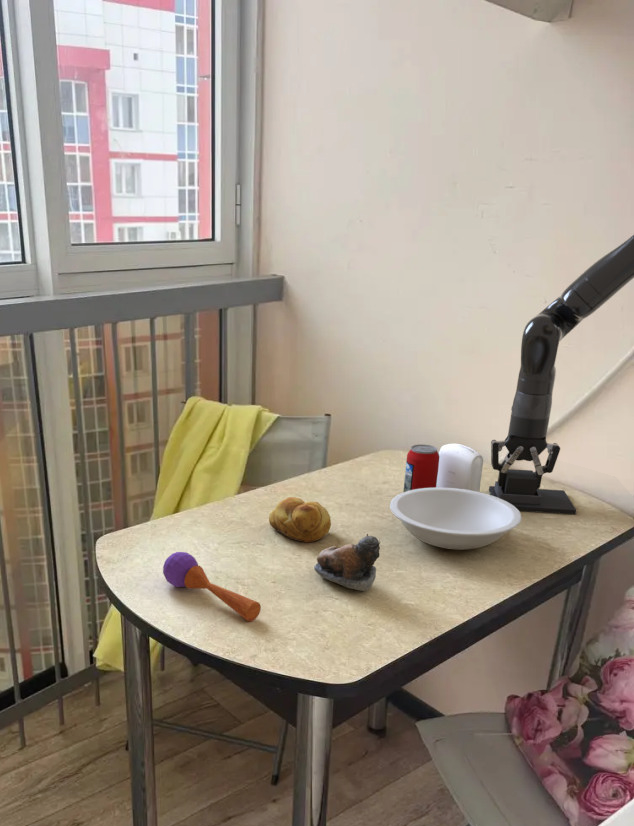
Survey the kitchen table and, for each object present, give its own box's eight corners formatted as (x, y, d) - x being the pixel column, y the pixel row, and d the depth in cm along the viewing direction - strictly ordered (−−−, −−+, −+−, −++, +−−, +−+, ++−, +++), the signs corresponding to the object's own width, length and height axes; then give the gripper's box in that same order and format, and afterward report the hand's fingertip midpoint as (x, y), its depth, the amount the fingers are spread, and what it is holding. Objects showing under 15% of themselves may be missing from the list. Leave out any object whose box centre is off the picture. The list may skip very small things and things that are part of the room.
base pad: (563, 494, 172) (565, 482, 171) (575, 514, 161) (578, 502, 160) (488, 490, 174) (490, 478, 173) (496, 509, 164) (498, 497, 162)
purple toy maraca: (238, 606, 116) (153, 556, 129) (241, 636, 120) (158, 584, 132) (265, 587, 120) (180, 540, 132) (267, 616, 123) (184, 568, 135)
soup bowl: (543, 549, 145) (549, 517, 142) (451, 579, 134) (456, 544, 131) (449, 509, 164) (453, 479, 161) (361, 532, 152) (364, 500, 150)
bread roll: (258, 530, 153) (258, 492, 150) (291, 517, 159) (293, 480, 156) (306, 550, 144) (308, 510, 141) (340, 536, 150) (342, 497, 147)
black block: (529, 487, 169) (532, 470, 168) (534, 497, 164) (537, 479, 162) (501, 485, 170) (503, 468, 169) (505, 495, 165) (507, 477, 163)
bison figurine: (306, 578, 134) (308, 524, 130) (332, 565, 138) (335, 513, 134) (362, 602, 126) (366, 546, 122) (387, 588, 131) (392, 533, 126)
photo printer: (431, 495, 171) (437, 441, 166) (444, 491, 173) (451, 438, 168) (466, 509, 163) (474, 453, 158) (480, 505, 165) (488, 450, 160)
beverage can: (406, 493, 172) (412, 441, 167) (437, 498, 169) (443, 446, 164) (399, 503, 166) (404, 450, 162) (430, 508, 164) (436, 454, 159)
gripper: (497, 415, 158) (485, 493, 165) (571, 419, 156) (556, 497, 162) (492, 406, 165) (481, 481, 171) (563, 410, 162) (549, 485, 169)
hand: (518, 488), depth 167 cm, fingers closed on black block, 6 cm apart
